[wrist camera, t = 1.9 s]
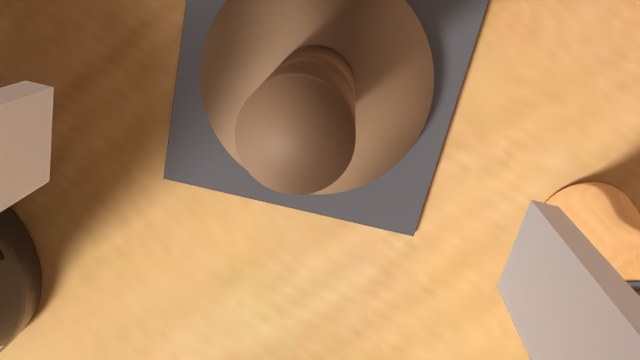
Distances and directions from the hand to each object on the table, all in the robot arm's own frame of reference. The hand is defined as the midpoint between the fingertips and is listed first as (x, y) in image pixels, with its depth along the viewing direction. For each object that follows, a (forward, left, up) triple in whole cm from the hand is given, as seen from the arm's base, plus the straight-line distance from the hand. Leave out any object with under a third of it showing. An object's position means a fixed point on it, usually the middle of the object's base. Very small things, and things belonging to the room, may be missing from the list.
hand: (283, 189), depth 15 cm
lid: (0, 0, -17) cm, 17 cm away
